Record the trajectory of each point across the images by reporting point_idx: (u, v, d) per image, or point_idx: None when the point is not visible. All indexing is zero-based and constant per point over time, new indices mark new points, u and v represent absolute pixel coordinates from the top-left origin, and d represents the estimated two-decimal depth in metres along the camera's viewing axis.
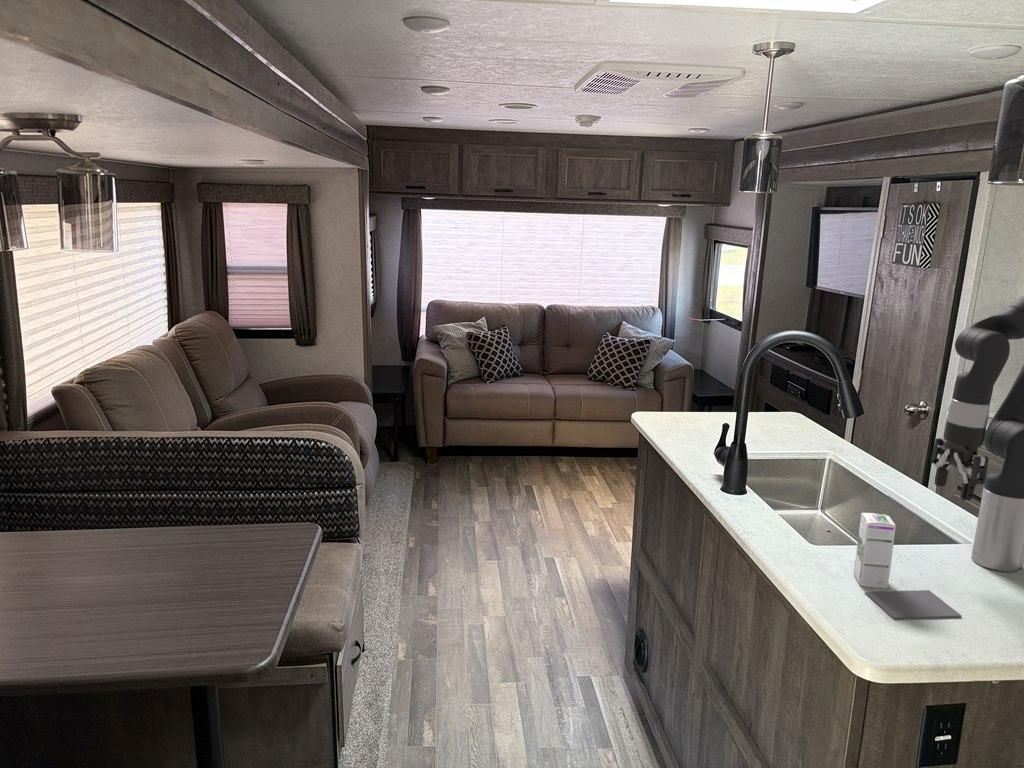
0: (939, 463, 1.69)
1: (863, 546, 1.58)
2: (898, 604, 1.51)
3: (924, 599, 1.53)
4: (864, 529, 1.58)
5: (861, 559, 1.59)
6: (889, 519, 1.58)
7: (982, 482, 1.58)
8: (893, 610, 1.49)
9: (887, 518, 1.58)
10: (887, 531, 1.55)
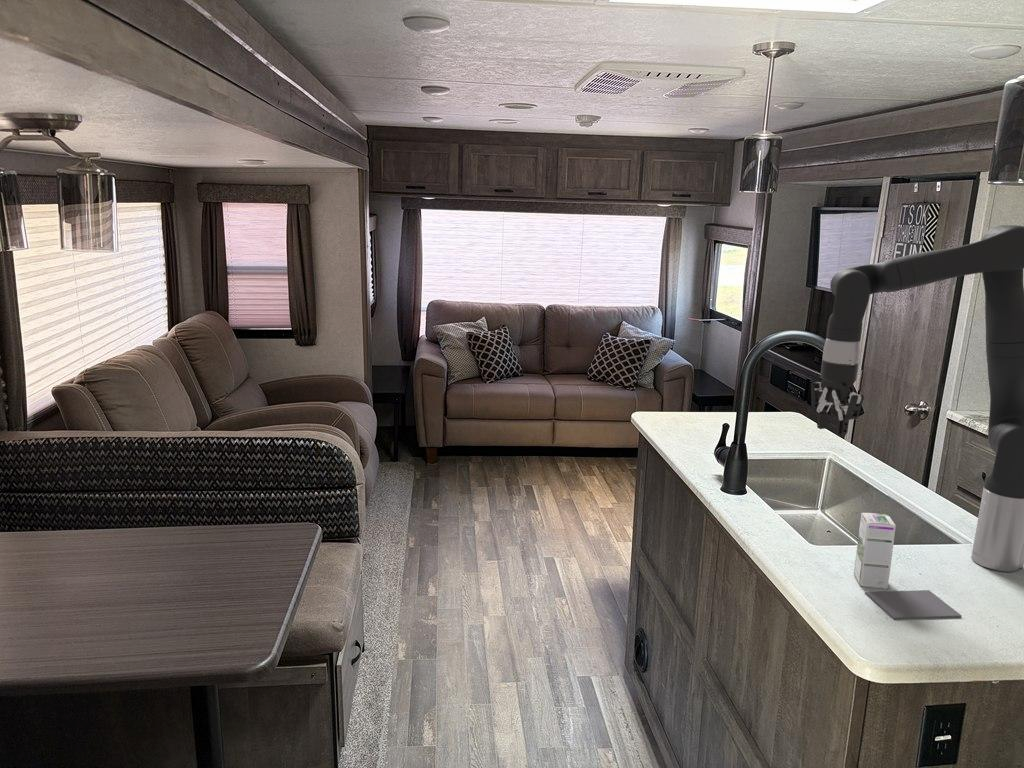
0: None
1: (863, 546, 1.58)
2: (898, 604, 1.51)
3: (924, 599, 1.53)
4: (864, 529, 1.58)
5: (861, 559, 1.59)
6: (889, 519, 1.58)
7: None
8: (893, 610, 1.49)
9: (887, 518, 1.58)
10: (887, 531, 1.55)
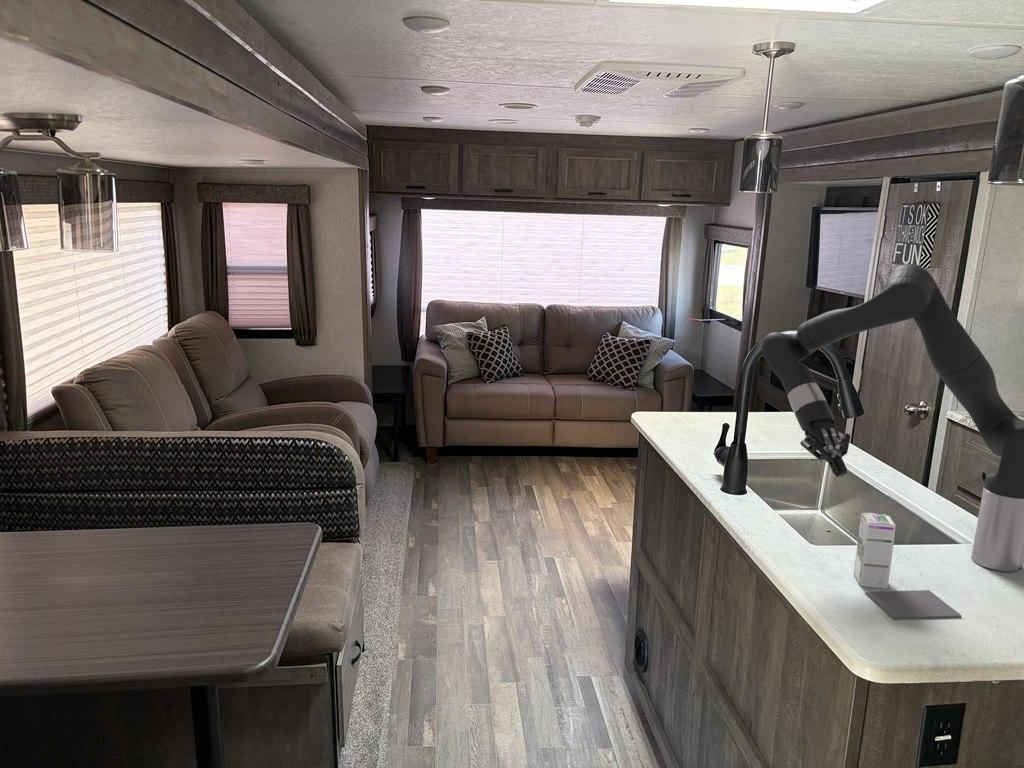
0: (831, 451, 1.68)
1: (863, 546, 1.58)
2: (898, 604, 1.51)
3: (924, 599, 1.53)
4: (864, 529, 1.58)
5: (861, 559, 1.59)
6: (889, 519, 1.58)
7: None
8: (893, 610, 1.49)
9: (887, 518, 1.58)
10: (887, 531, 1.55)
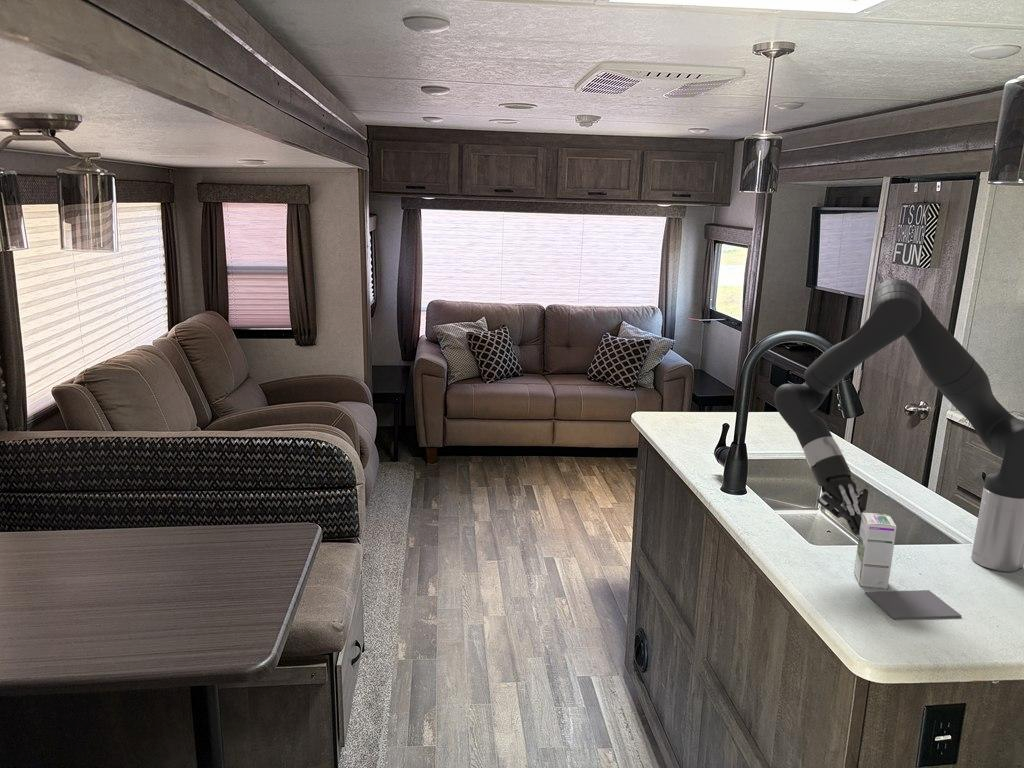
0: (849, 508, 1.64)
1: (863, 547, 1.57)
2: (898, 604, 1.51)
3: (924, 599, 1.53)
4: (865, 530, 1.57)
5: (861, 559, 1.58)
6: (890, 520, 1.57)
7: None
8: (893, 610, 1.49)
9: (888, 518, 1.58)
10: (888, 532, 1.55)
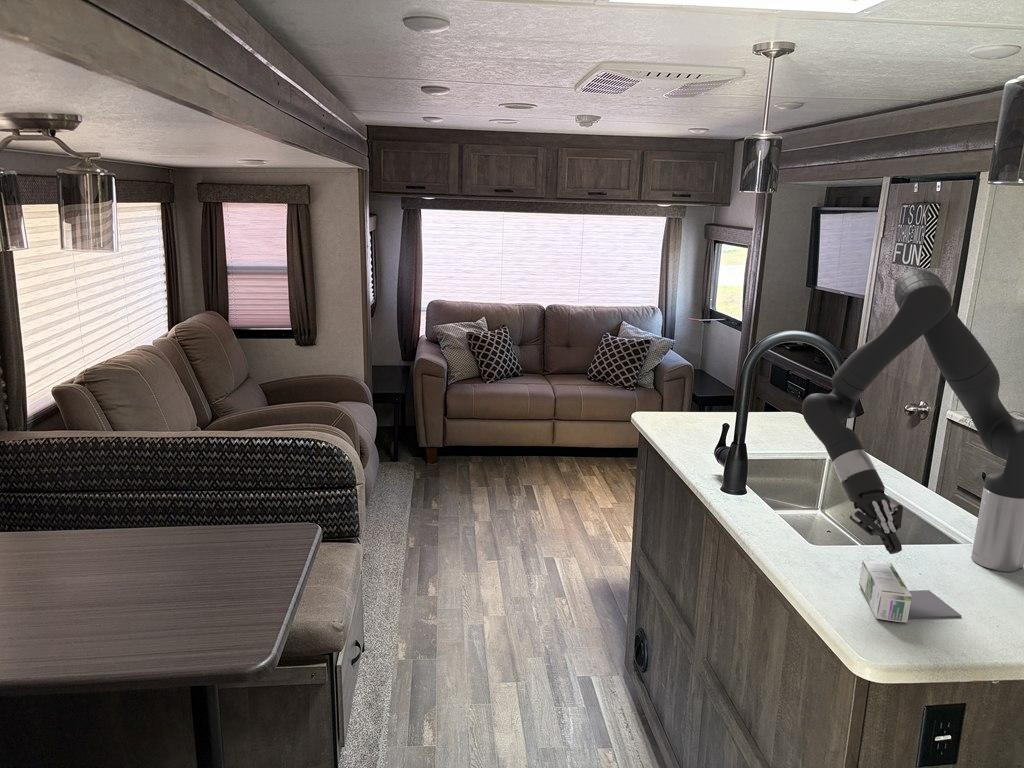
0: (884, 526, 1.55)
1: (869, 602, 1.50)
2: None
3: (924, 599, 1.53)
4: (874, 607, 1.47)
5: (865, 593, 1.53)
6: (906, 609, 1.44)
7: None
8: None
9: (906, 606, 1.44)
10: None
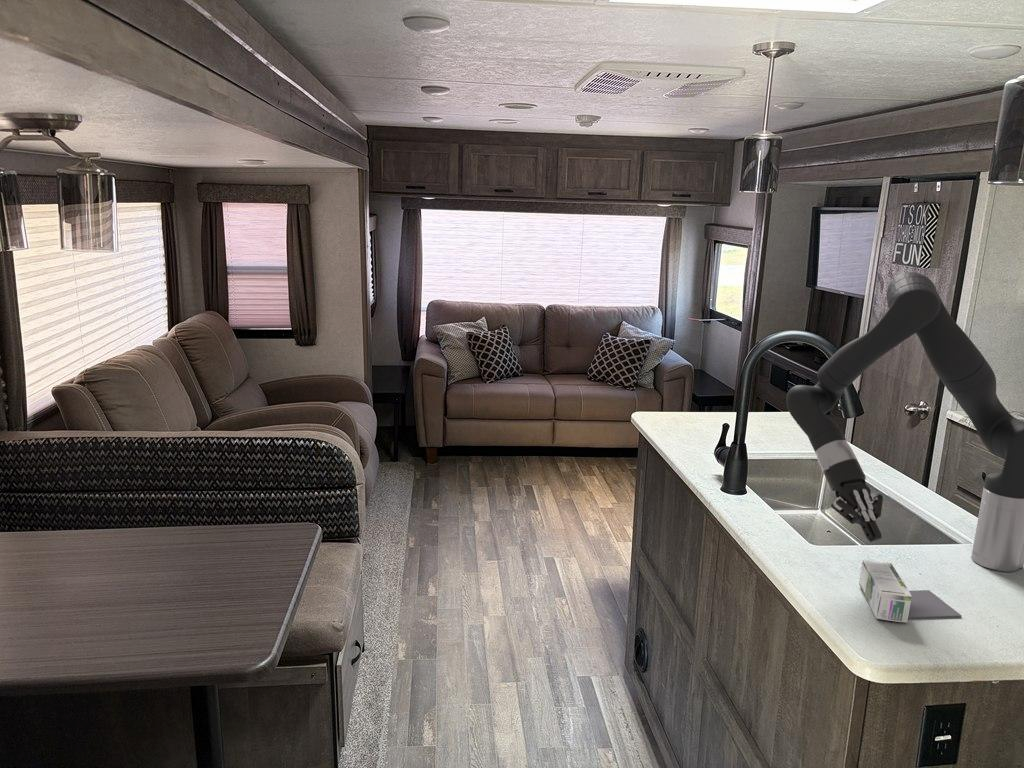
0: (864, 514, 1.59)
1: (869, 602, 1.50)
2: None
3: (924, 599, 1.53)
4: (874, 607, 1.47)
5: (865, 593, 1.53)
6: (906, 609, 1.44)
7: None
8: None
9: (906, 606, 1.44)
10: None
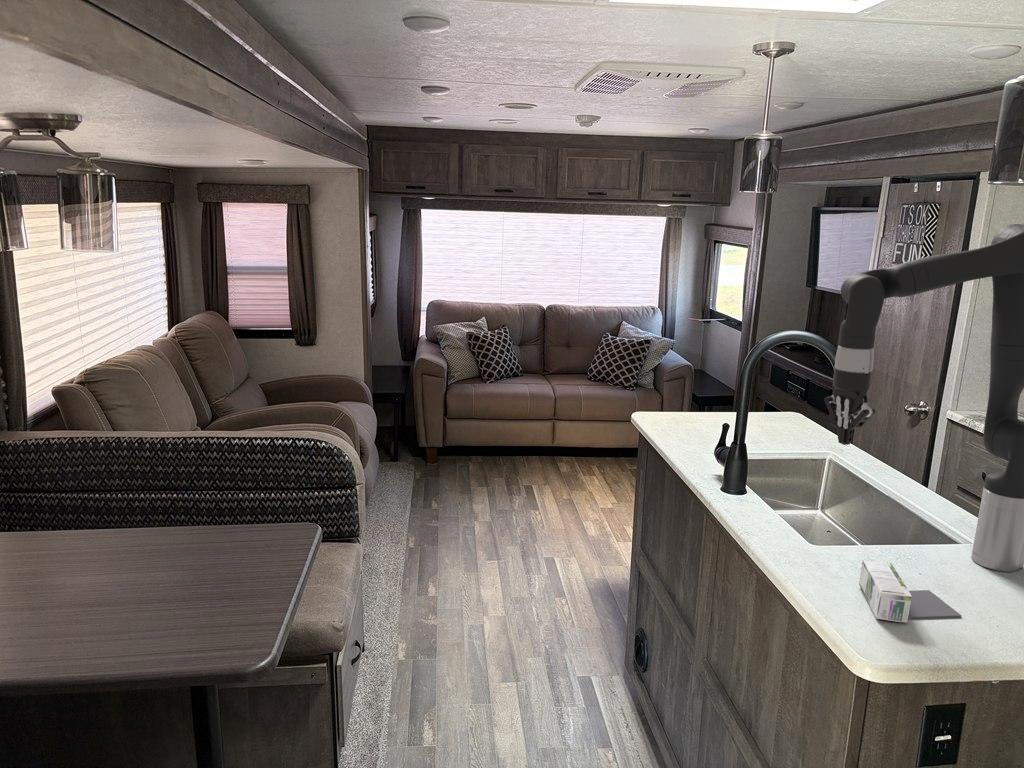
0: None
1: (869, 602, 1.50)
2: None
3: (924, 599, 1.53)
4: (874, 607, 1.47)
5: (865, 593, 1.53)
6: (906, 609, 1.44)
7: None
8: None
9: (906, 606, 1.44)
10: None
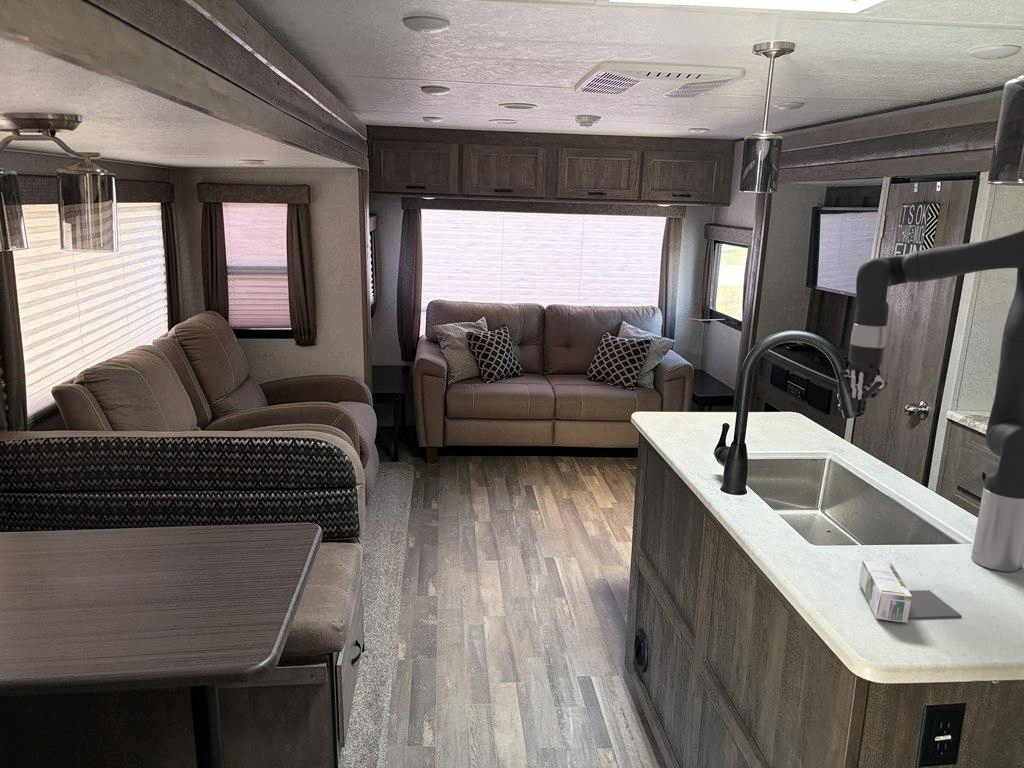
0: None
1: (869, 602, 1.50)
2: None
3: (924, 599, 1.53)
4: (874, 607, 1.47)
5: (865, 593, 1.53)
6: (906, 609, 1.44)
7: None
8: None
9: (906, 606, 1.44)
10: None
